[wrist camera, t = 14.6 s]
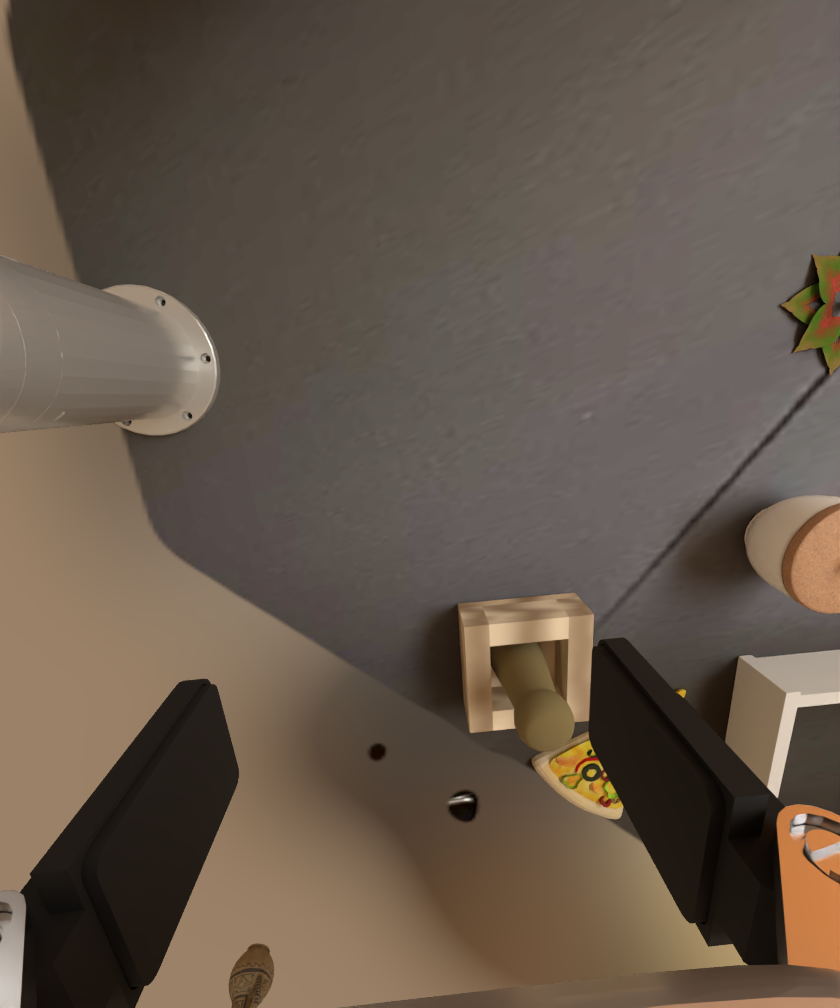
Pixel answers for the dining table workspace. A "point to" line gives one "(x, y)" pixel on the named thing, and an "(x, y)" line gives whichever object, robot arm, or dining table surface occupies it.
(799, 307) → the lily flower
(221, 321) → the dining table surface
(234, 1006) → the decorative pitcher
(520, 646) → the cork
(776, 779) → the white rectangular frame
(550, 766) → the pizza slice
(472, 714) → the caddy
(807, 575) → the lidded jar
